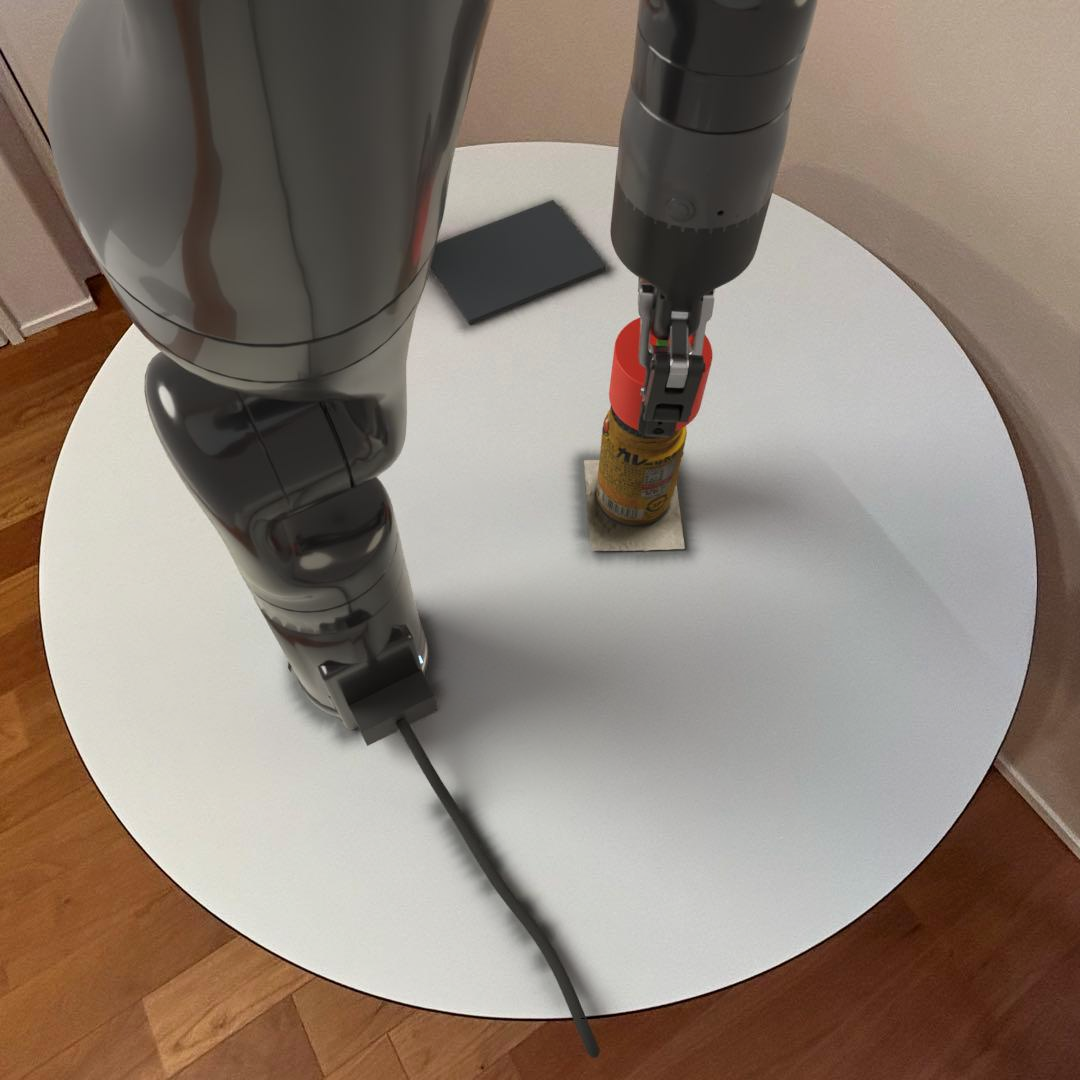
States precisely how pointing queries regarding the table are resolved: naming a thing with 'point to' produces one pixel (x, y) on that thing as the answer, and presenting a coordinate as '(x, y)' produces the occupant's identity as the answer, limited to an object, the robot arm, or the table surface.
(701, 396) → the red cylinder
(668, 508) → the condiment
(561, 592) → the table surface
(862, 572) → the table surface
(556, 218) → the dark rectangular pad
